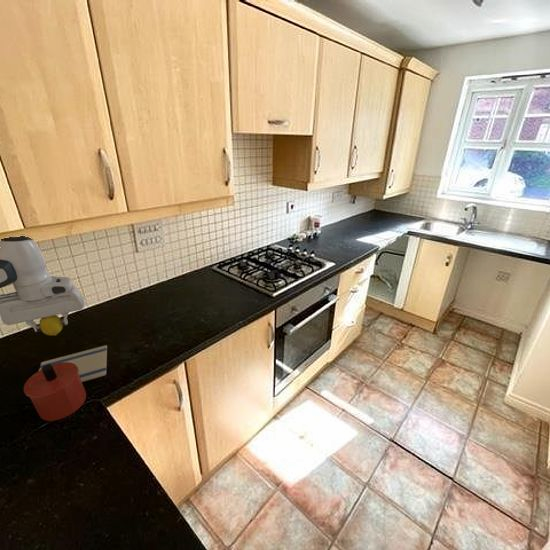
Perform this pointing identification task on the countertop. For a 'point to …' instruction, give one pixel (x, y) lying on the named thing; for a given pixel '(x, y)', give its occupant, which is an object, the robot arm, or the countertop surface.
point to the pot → (61, 402)
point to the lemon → (51, 325)
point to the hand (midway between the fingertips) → (52, 327)
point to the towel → (85, 362)
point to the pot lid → (50, 379)
